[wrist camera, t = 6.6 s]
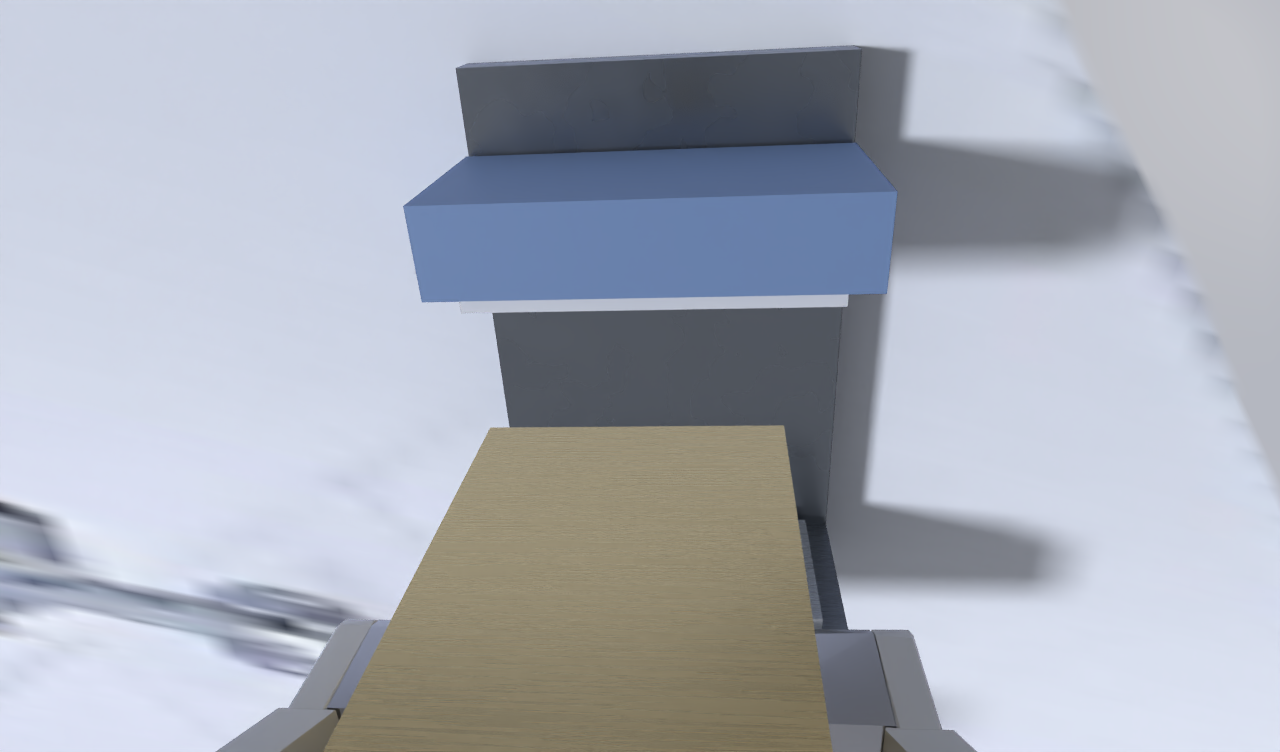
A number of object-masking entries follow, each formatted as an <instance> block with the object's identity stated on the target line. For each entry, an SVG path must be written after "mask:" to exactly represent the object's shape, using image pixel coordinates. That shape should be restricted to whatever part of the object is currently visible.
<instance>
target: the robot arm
mask: <svg viewBox="0 0 1280 752" xmlns="http://www.w3.org/2000/svg"><path fill="white" fill-rule="evenodd" d="M390 621H391V620H360V619H346V620H345V621H343V622H342V623H341V624H339V625H338V626H337V628H336V629H335V631H334V633H333V634H332V636H331V638H330V639H329V641H328V643H327V644H326V646H325V648H324V649H323V651H322V653H321V654H320V656H319V658H318V659H317V661H316V663H315V664H314V666H313V668H312V669H311V671H310V673H309V674H308V676H307V678H306V679H305V681H304V683H303V684H302V686H301V688H300V689H299V691H298V693H297V694H296V696H295V698H294V699H293V701H292V703H291V704H290V706H289V708H278V709H276V710H275V711H274V712H272V713H271V714H269V715H268V716H266V717H265V718H263V719H262V720H261V721H259V722H258V723H256V724H255V725H253V726H252V727H251V728H249V729H248V730H246V731H245V732H243V733H242V734H241V735H239V736H238V737H236V738H235V739H233V740H232V741H230V742H229V743H228V744H226V745H225V746H223V747H222V748H220V749H219V750H218V751H216V752H323V751H324V749H325V747H326V745H327V743H328V741H329V739H330V737H331V735H332V733H333V731H334V729H335V727H336V726H337V724H338V722H339V720H340V718H341V716H342V714H343V712H344V710H345V708H346V706H347V704H348V702H349V700H350V698H351V697H352V695H353V693H354V691H355V689H356V687H357V685H358V683H359V681H360V679H361V677H362V675H363V673H364V671H365V669H366V667H367V666H368V664H369V662H370V660H371V658H372V656H373V654H374V652H375V650H376V648H377V646H378V644H379V642H380V640H381V638H382V637H383V635H384V633H385V631H386V629H387V627H388V625H389V623H390ZM814 630H815V637H816V643H817V650H818V657H819V663H820V670H821V677H822V683H823V690H824V697H825V703H826V710H827V717H828V724H829V730H830V737H831V744H832V750H833V752H977V751H976V750H975V749H973V748H972V747H971V746H970V745H969V744H968V743H967V742H966V741H965V740H964V739H963V738H962V737H961V736H959V735H958V734H957V733H956V732H955V731H954V730H942V727H941V724H940V721H939V718H938V714H937V711H936V708H935V705H934V701H933V698H932V695H931V692H930V688H929V685H928V682H927V679H926V675H925V672H924V669H923V666H922V662H921V659H920V656H919V653H918V649H917V646H916V643H915V640H914V636H913V635H912V634H911V632H910V631H909V630H872V631H870V630H839V629H814Z"/></svg>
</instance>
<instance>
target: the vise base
mask: <svg viewBox="0 0 1280 752" xmlns="http://www.w3.org/2000/svg"><path fill="white" fill-rule="evenodd" d="M861 52H862V49H860V48H858V47H856V46H854V45H851V46H830V47H809V48H788V49H766V50H745V51H724V52H703V53H681V54H660V55H639V56H618V57H596V58H575V59H554V60H533V61H511V62H490V63H469V64H465V65H463V66H460V67H458V68H456V74H457V80H458V87H459V93H460V100H461V107H462V113H463V120H464V127H465V133H466V140H467V147H468V153H469V156H497V155H525V154H553V153H581V152H609V151H637V150H664V149H692V148H720V147H748V146H776V145H804V144H832V143H855V130H856V117H857V104H858V91H859V78H860V65H861ZM841 314H842V307H802V308H743V309H683V310H624V311H564V312H505V313H493V319H494V326H495V333H496V339H497V346H498V353H499V359H500V366H501V373H502V379H503V386H504V393H505V399H506V406H507V413H508V419H509V426H510V428H513V427H645V426H776V425H784V429H785V436H786V443H787V449H788V456H789V463H790V469H791V476H792V483H793V489H794V496H795V503H796V510H797V516H798V523H799V530H800V536H801V543H802V550H803V556H804V563H805V570H806V576H807V583H808V590H809V596H810V603H811V610H812V617H813V623H814V629H839V630H848V627H847V622H846V617H845V613H844V608H843V603H842V599H841V594H840V589H839V584H838V580H837V575H836V570H835V566H834V561H833V556H832V551H831V547H830V542H829V537H828V533H827V528H826V512H827V499H828V485H829V472H830V459H831V446H832V433H833V420H834V407H835V393H836V380H837V367H838V354H839V341H840V328H841Z"/></svg>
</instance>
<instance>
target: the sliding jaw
mask: <svg viewBox="0 0 1280 752" xmlns="http://www.w3.org/2000/svg"><path fill="white" fill-rule="evenodd" d="M897 192H898V191H897V190H896V189H895V188H894V187H893V186H892V184H891V183H890V182H889V181H888V180H887V178H886V177H885V176H884V175H883V174H882V173H881V171H880V170H879V169H878V168H877V167H876V165H875V164H874V163H873V162H872V161H871V160H870V158H869V157H868V156H867V155H866V154H865V153H864V151H863V150H862V149H861V148H860V147H859V145H858V144H857V143H832V144H804V145H776V146H748V147H720V148H692V149H664V150H637V151H609V152H581V153H553V154H525V155H497V156H469V157H465V158H464V159H463V160H462V161H460V162H459V163H458V164H456V165H455V166H454V167H453V168H451V169H450V170H449V171H448V172H446V173H445V174H444V175H442V176H441V177H440V178H439V179H437V180H436V181H435V182H434V183H432V184H431V185H430V186H428V187H427V188H426V189H425V190H423V191H422V192H421V193H420V194H418V195H417V196H416V197H414V198H413V199H412V200H411V201H409V202H408V203H407V204H406V205H404V206H403V208H404V213H405V218H406V223H407V228H408V233H409V239H410V244H411V249H412V254H413V259H414V264H415V269H416V274H417V280H418V285H419V290H420V295H421V300H422V302H459V304H460V310H461V313H505V312H564V311H624V310H683V309H743V308H802V307H848V297H849V294H887V288H888V279H889V269H890V259H891V250H892V240H893V231H894V221H895V211H896V202H897Z"/></svg>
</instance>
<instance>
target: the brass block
mask: <svg viewBox="0 0 1280 752" xmlns="http://www.w3.org/2000/svg"><path fill="white" fill-rule="evenodd" d="M323 752H833V750H832V744H831V737H830V730H829V724H828V717H827V710H826V703H825V697H824V690H823V683H822V677H821V670H820V663H819V657H818V650H817V643H816V637H815V630H814V623H813V617H812V610H811V603H810V596H809V590H808V583H807V576H806V570H805V563H804V556H803V550H802V543H801V536H800V530H799V523H798V516H797V510H796V503H795V496H794V489H793V483H792V476H791V469H790V463H789V456H788V449H787V443H786V436H785V429H784V425H776V426H645V427H513V428H490V430H489V431H488V433H487V435H486V437H485V439H484V441H483V443H482V445H481V447H480V449H479V451H478V453H477V455H476V457H475V459H474V460H473V462H472V464H471V466H470V468H469V470H468V472H467V474H466V476H465V478H464V480H463V482H462V484H461V486H460V488H459V489H458V491H457V493H456V495H455V497H454V499H453V501H452V503H451V505H450V507H449V509H448V511H447V513H446V515H445V517H444V519H443V520H442V522H441V524H440V526H439V528H438V530H437V532H436V534H435V536H434V538H433V540H432V542H431V544H430V546H429V548H428V549H427V551H426V553H425V555H424V557H423V559H422V561H421V563H420V565H419V567H418V569H417V571H416V573H415V575H414V577H413V578H412V580H411V582H410V584H409V586H408V588H407V590H406V592H405V594H404V596H403V598H402V600H401V602H400V604H399V606H398V608H397V609H396V611H395V613H394V615H393V617H392V619H391V621H390V623H389V625H388V627H387V629H386V631H385V633H384V635H383V637H382V638H381V640H380V642H379V644H378V646H377V648H376V650H375V652H374V654H373V656H372V658H371V660H370V662H369V664H368V666H367V667H366V669H365V671H364V673H363V675H362V677H361V679H360V681H359V683H358V685H357V687H356V689H355V691H354V693H353V695H352V697H351V698H350V700H349V702H348V704H347V706H346V708H345V710H344V712H343V714H342V716H341V718H340V720H339V722H338V724H337V726H336V727H335V729H334V731H333V733H332V735H331V737H330V739H329V741H328V743H327V745H326V747H325V749H324V751H323Z"/></svg>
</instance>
